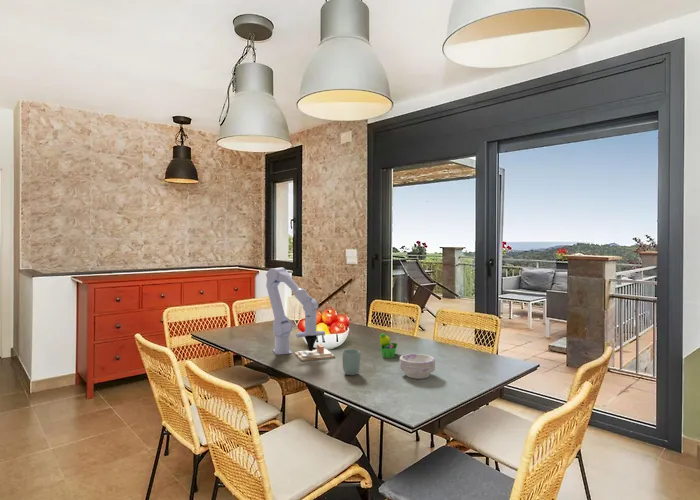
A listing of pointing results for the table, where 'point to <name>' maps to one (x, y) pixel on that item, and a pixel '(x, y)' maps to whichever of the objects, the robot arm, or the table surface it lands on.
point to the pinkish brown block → (322, 350)
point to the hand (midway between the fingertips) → (310, 350)
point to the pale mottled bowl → (417, 365)
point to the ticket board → (311, 355)
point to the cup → (351, 361)
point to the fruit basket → (387, 346)
